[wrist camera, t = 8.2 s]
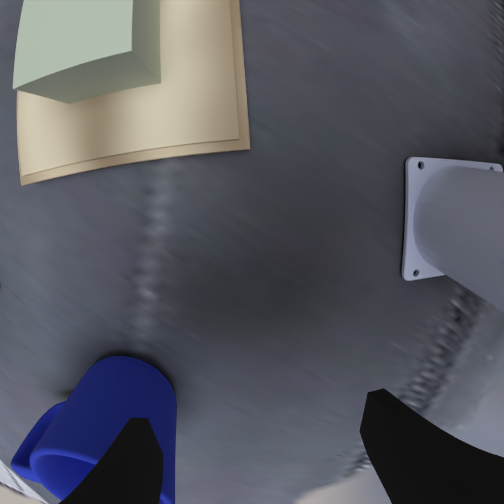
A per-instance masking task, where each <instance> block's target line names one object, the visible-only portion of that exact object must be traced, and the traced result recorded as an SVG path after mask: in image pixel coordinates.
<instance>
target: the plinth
mask: <svg viewBox="0 0 504 504" xmlns="http://www.w3.org/2000/svg"><path fill="white" fill-rule="evenodd" d="M160 63H161V83H160V84H154V85H148V86H142V87H137V88H132V89H127V90H122V91H118V92H113V93H109V94H105V95H101V96H97V97H93V98H89V99H85V100H81V101H78V102H74V103H71V104H67V103H63V102H60V101H56V100H53V99H49V98H45V97H42V96H38V95H34V94H30V93H26V92H22V91H18V90H17V140H18V157H19V169H20V179H21V186H22V185H27V184H32V183H37V182H42V181H46V180H50V179H54V178H59V177H63V176H68V175H73V174H77V173H82V172H87V171H92V170H98V169H103V168H108V167H114V166H120V165H126V164H132V163H138V162H145V161H152V160H159V159H166V158H174V157H182V156H191V155H200V154H210V153H220V152H232V151H245V150H249V149H250V137H249V124H248V110H247V97H246V84H245V71H244V58H243V45H242V32H241V19H240V7H239V0H160Z"/></svg>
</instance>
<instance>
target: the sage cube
mask: <svg viewBox="0 0 504 504" xmlns="http://www.w3.org/2000/svg"><path fill="white" fill-rule="evenodd" d="M160 83H161V63H160V0H24V3H23V8H22V13H21V18H20V24H19V31H18V37H17V45H16V54H15V64H14V77H13V89H14V90H18V91H22V92H26V93H30V94H34V95H38V96H42V97H45V98H49V99H53V100H56V101H60V102H63V103H67V104H71V103H74V102H78V101H81V100H85V99H89V98H93V97H97V96H101V95H105V94H109V93H113V92H118V91H122V90H127V89H132V88H137V87H142V86H148V85H154V84H160Z"/></svg>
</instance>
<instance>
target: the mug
mask: <svg viewBox="0 0 504 504" xmlns="http://www.w3.org/2000/svg"><path fill="white" fill-rule="evenodd" d="M176 415H177V404H176V398H175V394H174V391H173V388H172V386H171V385H170V383H169V381H168V380H167V379H166V378H165V376H164V375H163V374H162V373H161V372H160V371H158V370H157V369H156V368H155V367H153V366H151V365H150V364H148V363H146V362H144V361H142V360H139V359H136V358H132V357H127V356H112V357H108V358H104V359H102V360H100V361H98V362H97V363H95V364H94V365H93V366H92V367H90V369H89V370H88V371H87V372H86V373H85V375H84V376H83V378H82V379H81V380H80V382H79V383H78V385H77V386H76V387H75V389H74V390H73V392H72V393H71V395H70V396H69V397H68V399H67V400H66V401H64V402H61V403H58V404H56V405H54V406H53V407H52V408H50V409H49V410H48V411H47V412H46V413H45V414H44V415H43V416H42V417H41V418H40V419H39V420H38V422H37V423H36V424H35V426H34V427H33V428H32V429H31V431H30V432H29V434H28V435H27V437H26V438H25V440H24V441H23V443H22V444H21V446H20V447H19V449H18V450H17V452H16V454H15V455H14V457H13V459H12V461H11V467H12V468H13V470H14V471H15V472H16V473H17V474H19V475H20V476H21V477H23V478H25V479H28V480H31V481H34V482H38V483H41V484H42V485H43V486H44V487H45V488H46V489H47V490H49V491H50V492H51V493H52V494H53V495H55V496H56V497H57V498H59V499H60V500H63V499H64V498H66V497H67V496H68V495H69V494H70V493H71V492H72V491H73V490H74V489H75V488H76V487H77V486H78V485H79V484H80V483H81V481H82V480H83V479H84V478H85V477H86V476H87V474H88V473H89V472H90V471H91V470H92V469H93V468H94V466H95V465H96V464H97V463H98V461H99V460H100V459H101V457H102V456H103V455H104V453H105V452H106V451H107V450H108V448H109V447H110V445H111V444H112V443H113V441H114V440H115V438H116V437H117V436H118V434H119V433H120V431H121V430H122V429H123V427H124V426H125V424H126V423H127V421H128V420H129V419H130V418H148V419H149V422H150V424H151V426H152V429H153V431H154V434H155V436H156V438H157V441H158V443H159V445H160V447H161V450H162V452H163V454H164V456H163V482H162V489H161V495H160V502H159V504H175V444H176ZM30 466H31V467H30Z"/></svg>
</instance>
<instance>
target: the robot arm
mask: <svg viewBox="0 0 504 504" xmlns="http://www.w3.org/2000/svg"><path fill="white" fill-rule="evenodd" d="M419 162H420V163H421V168H420V169H419V168H418V163H419ZM405 169H406V204H405V233H404V249H403V263H402V277H403V278H404V279H405V280H407V281H411V280H418V279H424V278H430V277H436V276H442V275H447V276H449V277H450V278H452V279H453V280H455V281H457V282H458V283H460V284H461V285H463V286H464V287H466V288H468V289H469V290H471V291H472V292H474V293H475V294H477V295H478V296H480V297H481V298H483V299H484V300H486V301H487V302H489V303H490V304H492V305H493V306H495V307H496V308H498V309H499V310H500V311H502V312H503V313H504V172H503V169H502V166H501V165H500V164H494V163H485V162H475V161H465V160H453V159H440V158H423V157H409V158H408V159H407V160H406V164H405ZM415 270H416V273H415V274H414V275H413V272H414V271H415ZM360 434H361V437H362V440H363V443H364V446H365V449H366V452H367V455H368V457H369V459H370V461H371V463H372V465H373V467H374V469H375V471H376V473H377V475H378V477H379V479H380V481H381V483H382V484H383V486H384V488H385V490H386V492H387V494H388V496H389V498H390V500H391V503H392V504H504V457H501V456H498V455H494V454H491V453H488V452H486V451H483V450H481V449H478V448H476V447H473V446H471V445H469V444H467V443H465V442H463V441H461V440H459V439H457V438H455V437H454V436H452V435H450V434H448V433H447V432H445V431H443V430H441V429H440V428H438V427H437V426H435V425H434V424H432V423H431V422H429V421H428V420H426V419H425V418H423V417H422V416H420V415H419V414H418V413H416V412H415V411H413V410H412V409H411V408H409V407H408V406H407V405H405V404H404V403H403V402H401V401H400V400H399V399H397V398H396V397H395V396H393V395H392V394H391V393H390V392H388V391H387V390H385V389H384V388H383V389H379V390H376V391H372V392H368V394H367V399H366V404H365V409H364V413H363V418H362V422H361V427H360ZM163 456H164V454H163V452H162V450H161V447H160V445H159V443H158V441H157V438H156V436H155V434H154V431H153V429H152V426H151V424H150V422H149V419H148V418H130V419H129V420H128V421H127V423H126V424H125V426H124V427H123V429H122V430H121V431H120V433H119V434H118V436H117V437H116V438H115V440H114V441H113V443H112V444H111V445H110V447H109V448H108V450H107V451H106V452H105V453H104V455H103V456H102V457H101V459H100V460H99V461H98V463H97V464H96V465H95V466H94V468H93V469H92V470H91V471H90V472H89V473H88V474H87V476H86V477H85V478H84V479H83V480H82V481H81V483H80V484H79V485H78V486H77V487H76V488H75V489H74V490H73V491H72V492H71V493H70V494H69V495H68V496H67V497H66V498H64V499H63V500H62V501H61V502H60V503H59V504H159V502H160V495H161V489H162V482H163Z"/></svg>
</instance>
